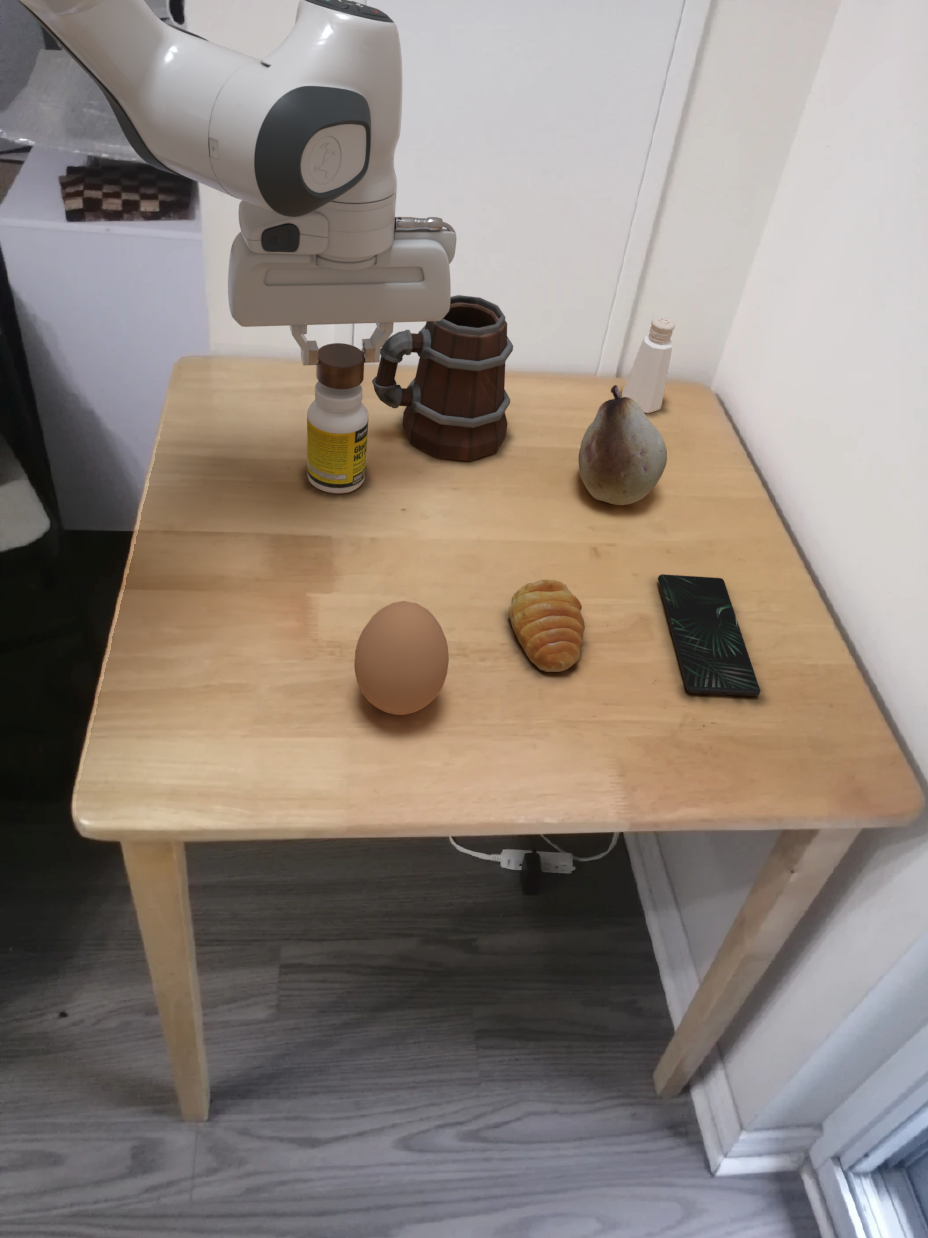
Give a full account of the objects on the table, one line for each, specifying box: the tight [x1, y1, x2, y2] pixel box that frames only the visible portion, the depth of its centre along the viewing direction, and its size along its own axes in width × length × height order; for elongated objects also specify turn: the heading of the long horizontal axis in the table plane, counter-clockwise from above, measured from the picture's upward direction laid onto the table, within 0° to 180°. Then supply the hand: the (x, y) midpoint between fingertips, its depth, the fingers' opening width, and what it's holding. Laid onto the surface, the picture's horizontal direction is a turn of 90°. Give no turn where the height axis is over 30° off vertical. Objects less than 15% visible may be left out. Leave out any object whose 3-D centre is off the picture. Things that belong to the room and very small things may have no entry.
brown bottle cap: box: [315, 342, 365, 389], centre depth 91 cm, size 5×5×2 cm
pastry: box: [508, 579, 586, 673], centre depth 85 cm, size 9×7×4 cm
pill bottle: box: [306, 380, 369, 494], centre depth 96 cm, size 6×6×11 cm
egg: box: [353, 600, 450, 716], centre depth 76 cm, size 8×8×11 cm
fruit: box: [578, 384, 668, 506], centre depth 100 cm, size 10×9×12 cm
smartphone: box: [657, 573, 761, 697], centre depth 89 cm, size 7×1×15 cm
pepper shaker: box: [621, 316, 676, 414], centre depth 115 cm, size 5×5×11 cm
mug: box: [371, 294, 514, 462], centre depth 103 cm, size 16×12×15 cm
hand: (339, 361), depth 91 cm, fingers closed on brown bottle cap, 4 cm apart
